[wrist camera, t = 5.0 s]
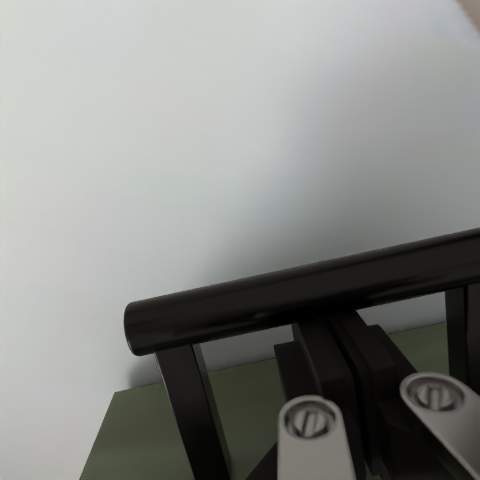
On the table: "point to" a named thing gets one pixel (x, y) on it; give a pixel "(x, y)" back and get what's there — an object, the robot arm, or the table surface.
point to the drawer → (266, 372)
